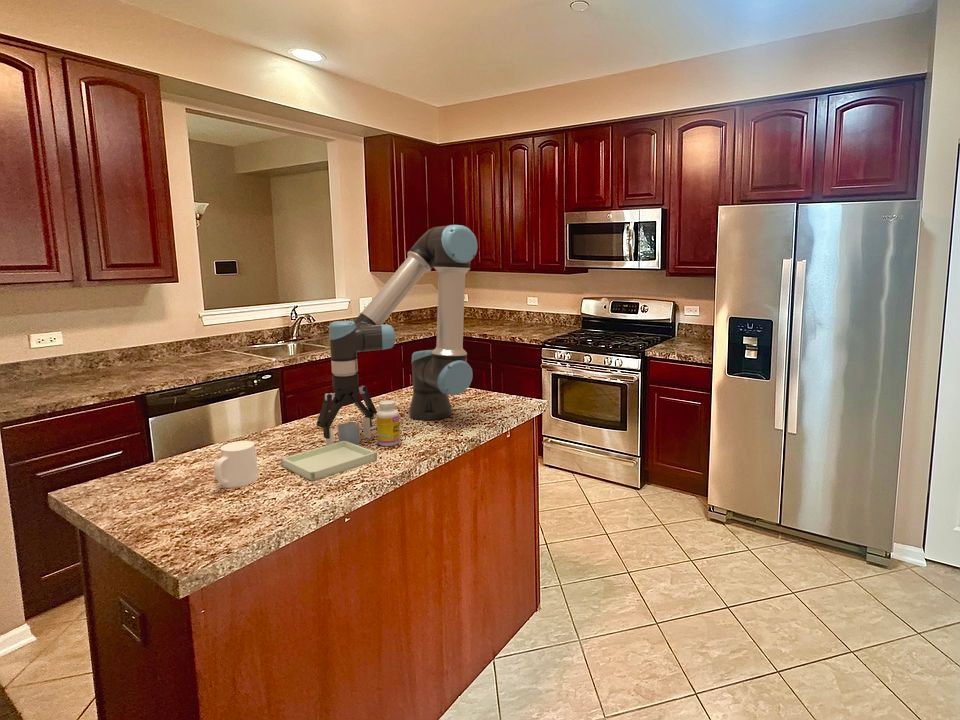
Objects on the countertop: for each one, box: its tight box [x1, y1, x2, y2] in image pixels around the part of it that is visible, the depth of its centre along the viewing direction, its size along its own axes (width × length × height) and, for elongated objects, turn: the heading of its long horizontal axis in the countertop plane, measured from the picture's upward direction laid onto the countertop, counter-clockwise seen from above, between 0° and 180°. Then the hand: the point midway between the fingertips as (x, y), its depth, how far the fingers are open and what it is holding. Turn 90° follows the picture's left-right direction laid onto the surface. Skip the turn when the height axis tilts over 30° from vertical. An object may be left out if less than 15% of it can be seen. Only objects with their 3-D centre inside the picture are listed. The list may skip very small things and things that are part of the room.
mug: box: [213, 440, 260, 489], centre depth 145 cm, size 12×9×8 cm
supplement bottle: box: [375, 399, 401, 447], centre depth 172 cm, size 7×7×13 cm
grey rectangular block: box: [337, 421, 361, 445], centre depth 173 cm, size 4×4×6 cm
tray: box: [280, 440, 378, 482], centre depth 157 cm, size 20×16×2 cm
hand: (349, 443), depth 174 cm, fingers open, 12 cm apart
